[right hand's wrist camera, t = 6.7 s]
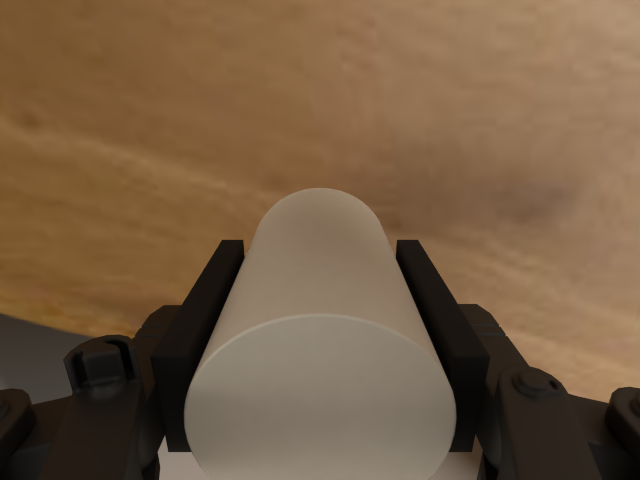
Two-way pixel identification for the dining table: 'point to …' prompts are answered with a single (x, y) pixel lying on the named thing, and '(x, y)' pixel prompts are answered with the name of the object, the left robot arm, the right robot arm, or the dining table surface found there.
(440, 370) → the can
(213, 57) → the dining table surface
